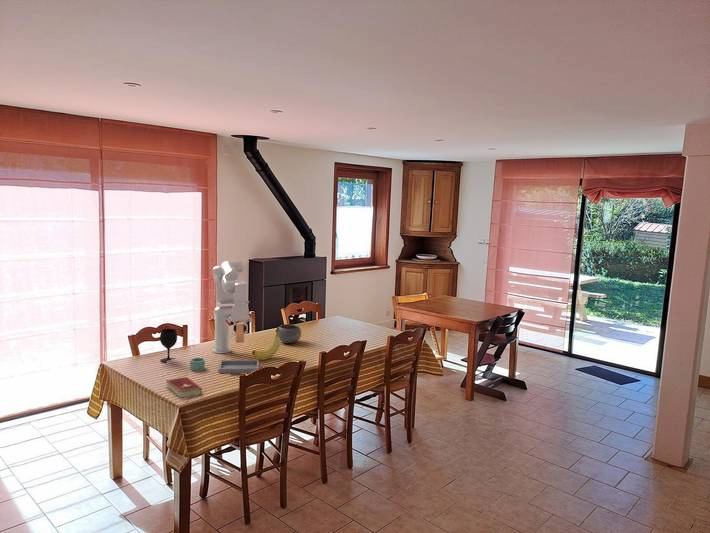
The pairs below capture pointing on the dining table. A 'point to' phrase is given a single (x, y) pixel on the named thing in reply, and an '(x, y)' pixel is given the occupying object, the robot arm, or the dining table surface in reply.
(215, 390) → the dining table surface
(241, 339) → the peg
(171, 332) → the wine glass
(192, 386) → the hardcover book
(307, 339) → the dining table surface
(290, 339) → the bowl
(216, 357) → the dining table surface
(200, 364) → the cup
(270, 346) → the banana
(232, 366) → the tray
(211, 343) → the dining table surface
